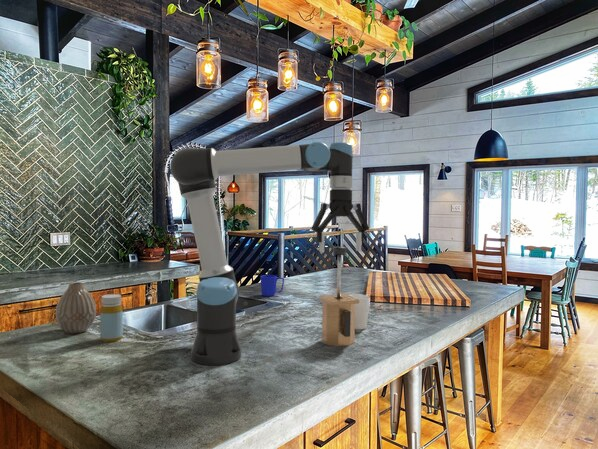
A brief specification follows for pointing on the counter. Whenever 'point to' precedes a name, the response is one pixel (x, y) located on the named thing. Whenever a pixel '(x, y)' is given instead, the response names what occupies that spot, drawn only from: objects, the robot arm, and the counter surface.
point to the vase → (75, 309)
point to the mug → (269, 285)
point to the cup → (361, 310)
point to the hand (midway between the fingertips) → (340, 251)
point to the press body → (338, 319)
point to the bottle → (111, 318)
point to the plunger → (339, 267)
